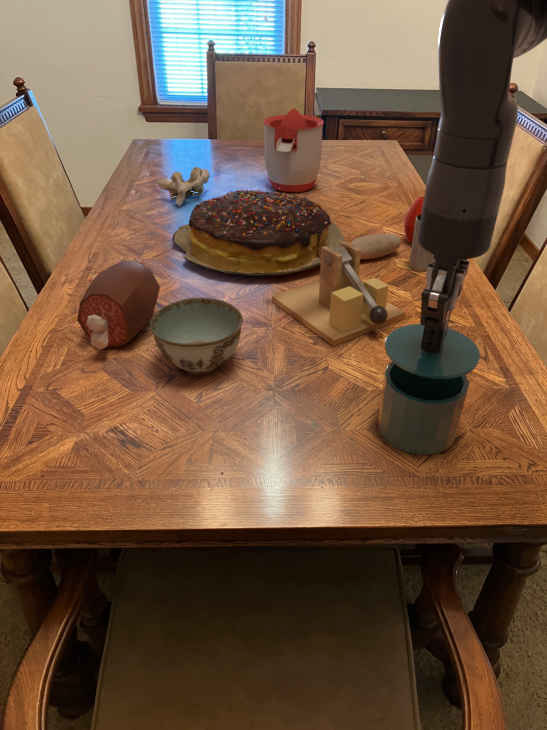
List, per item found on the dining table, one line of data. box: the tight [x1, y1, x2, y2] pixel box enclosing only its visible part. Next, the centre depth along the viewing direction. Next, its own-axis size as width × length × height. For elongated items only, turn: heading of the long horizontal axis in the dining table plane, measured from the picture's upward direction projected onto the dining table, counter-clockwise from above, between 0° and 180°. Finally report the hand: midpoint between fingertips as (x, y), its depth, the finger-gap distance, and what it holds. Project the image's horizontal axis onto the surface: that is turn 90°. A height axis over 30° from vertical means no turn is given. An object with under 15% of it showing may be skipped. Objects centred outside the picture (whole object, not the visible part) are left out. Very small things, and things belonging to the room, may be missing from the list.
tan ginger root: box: [157, 166, 211, 208], centre depth 148 cm, size 9×14×8 cm, turn 136°
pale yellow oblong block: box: [329, 286, 364, 333], centre depth 94 cm, size 3×4×6 cm
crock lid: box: [384, 310, 481, 379], centre depth 68 cm, size 11×11×7 cm
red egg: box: [403, 195, 425, 244], centre depth 124 cm, size 8×8×11 cm
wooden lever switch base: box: [271, 240, 406, 347], centre depth 99 cm, size 18×16×12 cm
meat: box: [76, 258, 161, 351], centre depth 94 cm, size 20×12×10 cm, turn 170°
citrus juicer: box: [262, 108, 325, 193], centre depth 151 cm, size 16×17×20 cm
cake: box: [171, 189, 346, 277], centre depth 123 cm, size 37×37×10 cm
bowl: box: [149, 297, 244, 376], centre depth 87 cm, size 14×13×8 cm
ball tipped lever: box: [334, 246, 388, 324], centre depth 95 cm, size 15×3×3 cm, turn 34°
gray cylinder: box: [408, 214, 434, 272], centre depth 114 cm, size 4×4×10 cm
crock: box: [377, 361, 470, 456], centre depth 74 cm, size 10×10×8 cm
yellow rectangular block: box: [362, 277, 389, 317], centre depth 97 cm, size 3×2×6 cm
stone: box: [350, 233, 402, 260], centre depth 119 cm, size 6×6×12 cm
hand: (433, 343), depth 69 cm, fingers closed on crock lid, 2 cm apart
